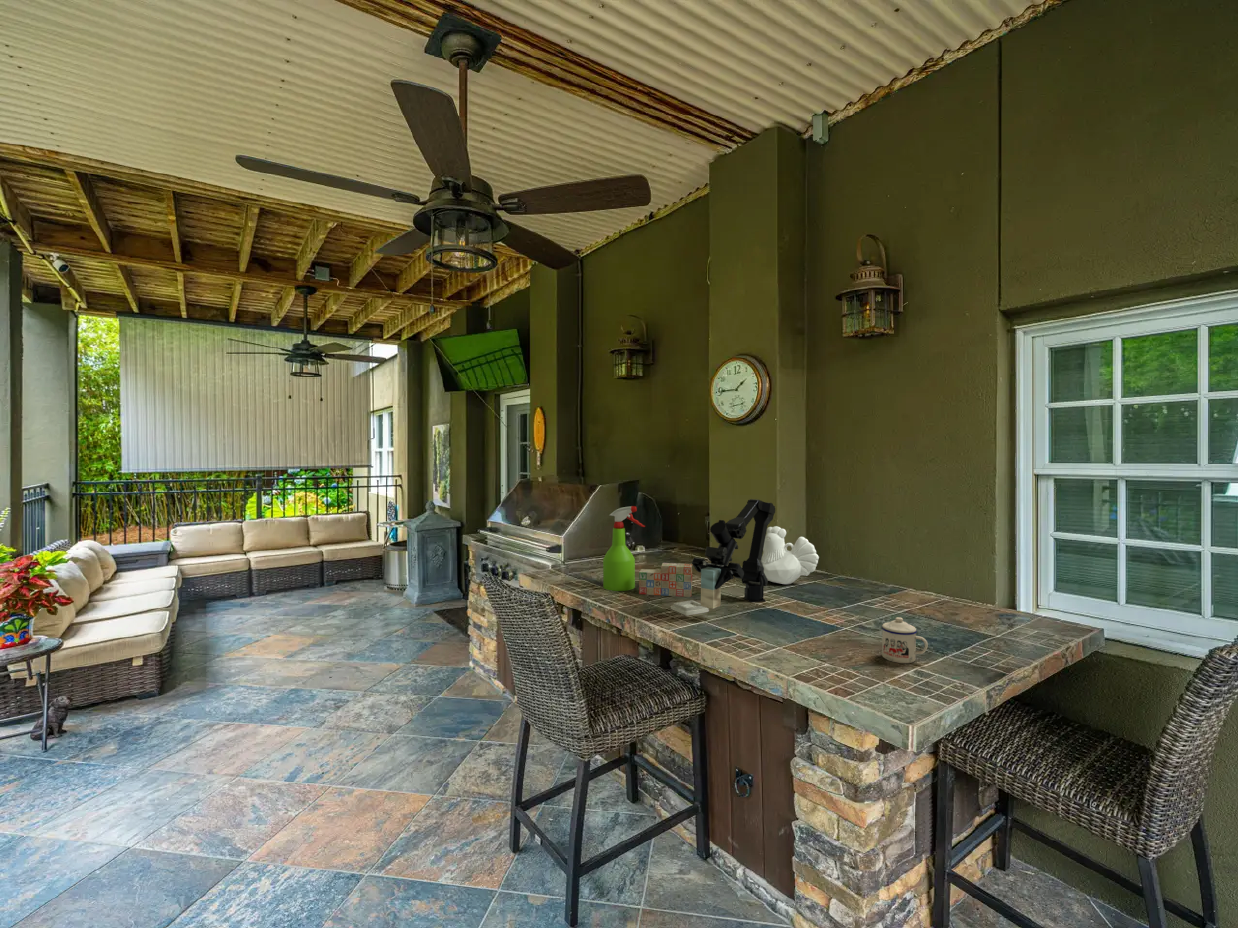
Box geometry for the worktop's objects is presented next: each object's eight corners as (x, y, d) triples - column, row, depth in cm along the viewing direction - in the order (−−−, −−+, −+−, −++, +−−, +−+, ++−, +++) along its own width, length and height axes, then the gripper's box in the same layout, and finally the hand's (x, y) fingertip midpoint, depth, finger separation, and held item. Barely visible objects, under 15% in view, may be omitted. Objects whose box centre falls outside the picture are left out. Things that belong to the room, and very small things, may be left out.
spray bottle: (641, 592, 249) (641, 508, 247) (599, 590, 253) (599, 507, 251) (647, 584, 262) (647, 504, 261) (607, 582, 266) (607, 503, 265)
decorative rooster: (752, 582, 266) (753, 526, 266) (772, 576, 277) (772, 523, 277) (804, 592, 249) (805, 532, 248) (822, 586, 260) (823, 528, 259)
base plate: (692, 605, 229) (692, 599, 229) (708, 611, 220) (708, 605, 220) (670, 608, 224) (670, 602, 224) (686, 615, 215) (686, 609, 215)
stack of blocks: (638, 594, 246) (638, 564, 245) (641, 590, 252) (641, 561, 251) (691, 597, 242) (691, 566, 241) (692, 593, 248) (692, 563, 247)
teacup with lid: (877, 659, 171) (878, 618, 171) (885, 650, 179) (886, 611, 178) (923, 668, 164) (924, 626, 164) (930, 659, 171) (931, 618, 171)
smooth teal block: (708, 602, 214) (708, 566, 214) (720, 605, 211) (721, 568, 211) (700, 605, 211) (701, 569, 210) (713, 608, 207) (713, 571, 207)
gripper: (694, 535, 219) (677, 570, 211) (740, 540, 207) (724, 578, 199) (705, 553, 225) (689, 588, 217) (750, 559, 213) (735, 596, 205)
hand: (708, 587), depth 209 cm, fingers closed on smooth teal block, 5 cm apart
